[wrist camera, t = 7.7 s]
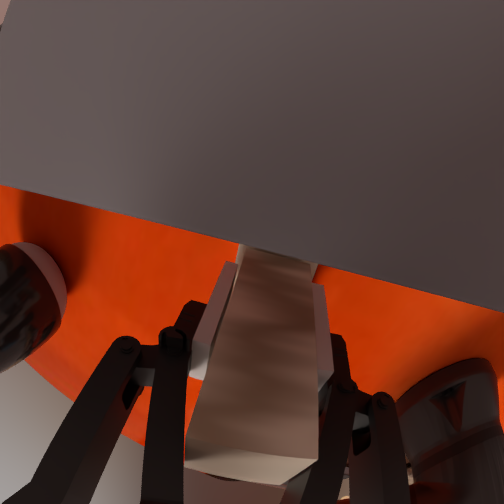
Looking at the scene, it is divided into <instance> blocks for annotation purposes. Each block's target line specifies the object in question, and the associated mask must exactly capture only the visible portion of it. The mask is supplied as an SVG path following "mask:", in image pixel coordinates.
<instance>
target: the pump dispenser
mask: <svg viewBox="0 0 504 504" xmlns="http://www.w3.org/2000/svg"><path fill="white" fill-rule="evenodd" d="M66 303H67V291H66V285H65V281H64V278H63V275H62V273H61V271H60V269H59V267H58V266H57V264H56V262H55V261H54V260H53V258H52V257H51V256H50V255H49V254H48V253H47V252H46V251H45V250H43V249H42V248H40V247H39V246H37V245H35V244H32V243H27V242H19V243H14V244H5V245H3V246H1V247H0V373H2V372H4V371H6V370H8V369H10V368H11V367H13V366H15V365H16V364H18V363H19V362H21V361H22V360H24V359H25V358H27V357H28V356H30V355H31V354H32V353H34V352H35V351H36V350H37V349H39V348H40V347H41V346H42V345H43V344H44V343H46V342H47V341H48V340H49V339H50V338H51V337H52V336H53V335H54V334H55V333H56V332H57V330H58V329H59V328H60V325H61V319H62V317H63V315H64V312H65V308H66Z"/></svg>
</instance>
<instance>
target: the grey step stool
mask: <svg viewBox="0 0 504 504" xmlns="http://www.w3.org/2000/svg"><path fill="white" fill-rule="evenodd" d="M0 184H1V185H5V186H9V187H13V188H17V189H21V190H26V191H30V192H34V193H38V194H42V195H46V196H50V197H55V198H59V199H63V200H67V201H71V202H75V203H79V204H83V205H87V206H91V207H95V208H99V209H104V210H108V211H112V212H116V213H120V214H124V215H128V216H132V217H136V218H140V219H144V220H148V221H152V222H156V223H160V224H164V225H168V226H172V227H176V228H180V229H184V230H188V231H192V232H196V233H200V234H204V235H208V236H212V237H216V238H220V239H224V240H227V241H231V242H235V243H239V244H243V245H247V246H251V247H255V248H259V249H263V250H267V251H271V252H275V253H278V254H282V255H286V256H290V257H294V258H298V259H302V260H306V261H310V262H313V263H317V264H321V265H325V266H329V267H333V268H337V269H340V270H344V271H348V272H352V273H356V274H360V275H363V276H367V277H371V278H375V279H379V280H383V281H386V282H390V283H394V284H398V285H402V286H405V287H409V288H413V289H417V290H421V291H424V292H428V293H432V294H436V295H439V296H443V297H447V298H451V299H454V300H458V301H462V302H466V303H469V304H473V305H477V306H480V307H484V308H488V309H492V310H495V311H499V312H503V313H504V0H11V1H10V4H9V7H8V9H7V12H6V15H5V18H4V21H3V25H2V28H1V31H0Z"/></svg>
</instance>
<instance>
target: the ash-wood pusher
mask: <svg viewBox="0 0 504 504" xmlns="http://www.w3.org/2000/svg"><path fill="white" fill-rule="evenodd" d="M235 263H236V264H238V268H237V273H236V277H235V282H234V286H233V291H232V294H231V297H230V300H229V304H228V307H227V310H226V313H225V316H224V319H223V322H222V325H221V328H220V331H219V334H218V337H217V340H216V343H215V346H214V349H213V353H212V356H211V359H210V362H209V365H208V368H207V371H206V374H205V377H204V380H203V384H202V387H201V390H200V393H199V396H198V399H197V402H196V405H195V408H194V412H193V415H192V418H191V421H190V424H189V427H188V430H187V434H186V440H185V464H184V467H187V468H190V469H194V470H197V471H201V472H205V473H209V474H214V475H218V476H223V477H228V478H233V479H238V480H244V481H250V482H257V483H265V484H273V485H281V484H283V483H284V482H286V481H287V480H289V479H290V478H292V477H294V476H295V475H297V474H298V473H300V472H301V471H303V470H304V469H305V468H307V467H308V466H310V465H311V464H313V463H314V462H315V461H317V460H318V374H317V351H316V333H315V317H314V304H313V291H312V279H313V277H314V274H315V271H316V269H317V266H318V264H317V263H313V262H310V261H306V260H302V259H298V258H294V257H290V256H286V255H282V254H278V253H275V252H271V251H267V250H263V249H259V248H255V247H251V246H247V245H243V244H239V248H238V252H237V257H236V262H235Z"/></svg>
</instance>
